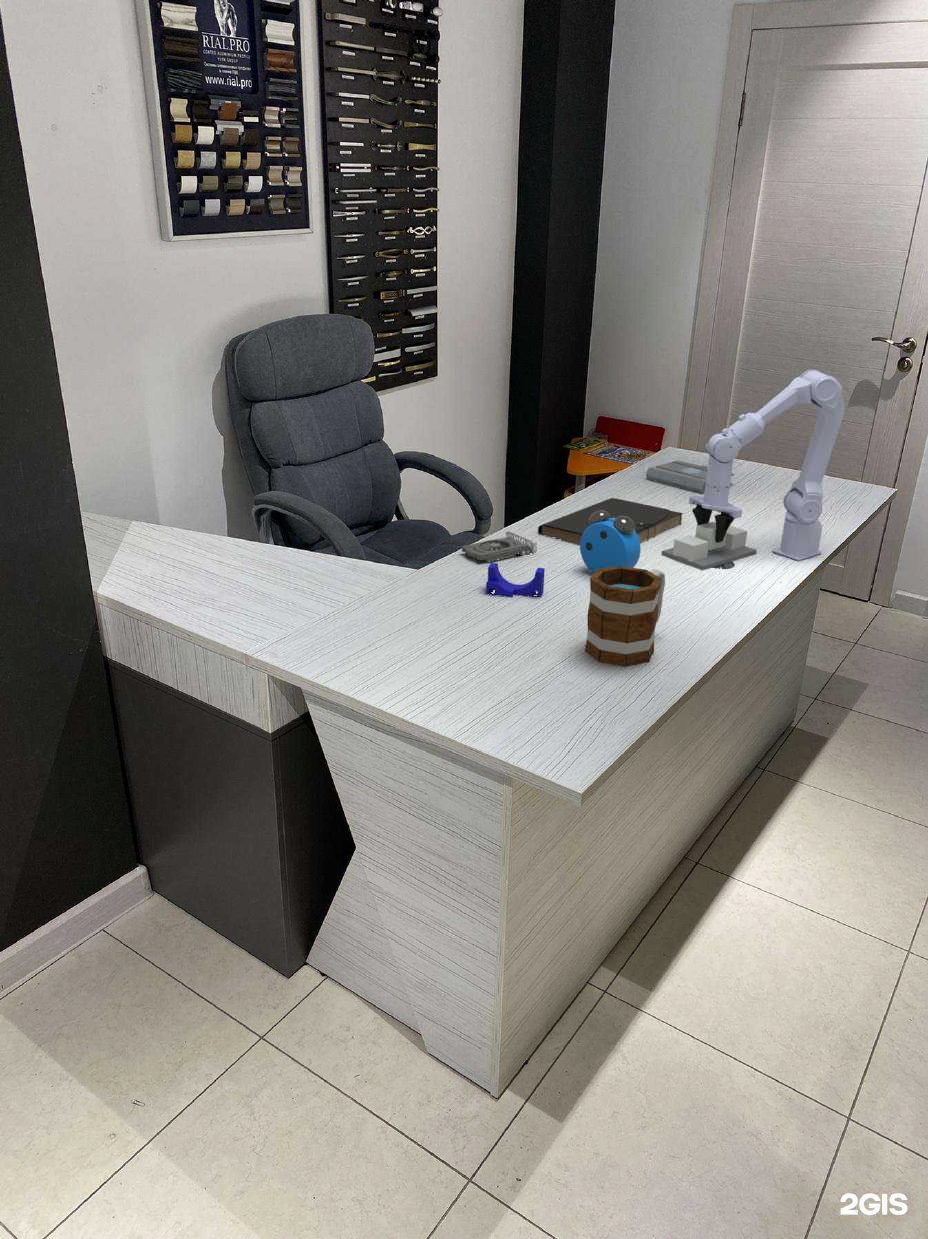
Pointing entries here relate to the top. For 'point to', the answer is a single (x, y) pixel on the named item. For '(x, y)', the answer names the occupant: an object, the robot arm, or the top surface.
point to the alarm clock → (609, 542)
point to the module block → (709, 535)
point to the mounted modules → (698, 548)
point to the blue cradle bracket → (510, 589)
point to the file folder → (643, 516)
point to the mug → (623, 614)
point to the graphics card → (500, 548)
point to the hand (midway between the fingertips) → (710, 538)
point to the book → (680, 475)
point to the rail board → (714, 556)
